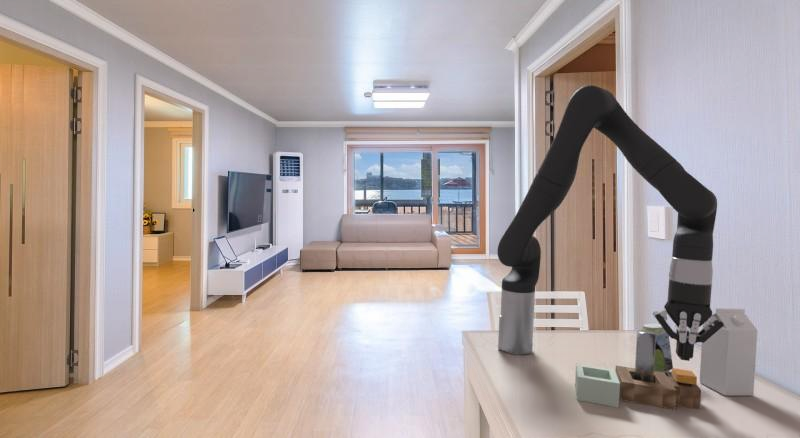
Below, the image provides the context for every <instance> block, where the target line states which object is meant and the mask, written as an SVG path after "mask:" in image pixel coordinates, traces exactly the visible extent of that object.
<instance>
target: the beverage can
mask: <svg viewBox="0 0 800 438" xmlns="http://www.w3.org/2000/svg"><path fill="white" fill-rule="evenodd" d="M640 330H645V331H650V332H654V333H655V334H656V343H655V361H654V371H656V372H662V373H665V374H666V373H668V372H670V371H672V368H674V366H673V358H672V350H671V341H670V340H671V339H670V336H669V335H668V334H667V333H666V331H665V330H664V329H663V327H662V326H661V325H660V323H659V322H646V323H644V324H642V327H641V329H640Z"/></svg>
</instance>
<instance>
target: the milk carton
mask: <svg viewBox="0 0 800 438" xmlns="http://www.w3.org/2000/svg"><path fill="white" fill-rule="evenodd" d="M745 313H746V309H745V308H722V307H721V308H720V307H719V308H715V313H712V315H713V316H714V317H715V318H717V319H718V320H720V321H722V322H723V323H724V326H723V327H722V328H720V329H719V330H718V331H717V332H716V333H715V334H713V335H712V336H711V337H710V338H709V339H708V340H706V341H705V342H704V343H701V348H700V349H701V352H700V366H699V367H700V368H699V383H700V384H702V385H704V386H706V387H708V388H710V389H712V390H714V391H715V392H716V393H717V392H718V393H719V394H721V395H723V396H730V397H731V396H754V391H755V390H754V389H755V379H756V378H755V373H756V362H757V361H756V359H757V344H758V329H757V327H756V326H755V325H754V324H753V323H752V320H750V318H749V317H748V316H747V315H746V314H745ZM707 321H708V320H707ZM707 321H706V322H705V323H704V324H703V325H702V329H703V328H704V327H705V326H706V325H708V324H707Z"/></svg>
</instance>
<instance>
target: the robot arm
mask: <svg viewBox="0 0 800 438" xmlns="http://www.w3.org/2000/svg"><path fill="white" fill-rule="evenodd" d="M568 100H569V101H568V103H567V105H566V108H565V111H564V113H563V116H562V118H561V122H560V124H559V126H558V130H557V132H556V134H555V136H554V139H553V141H552V143H551V145H550V147H549V148H548V150H547V153H546V154H545V156H544V158H543V160H542V162H541V164H540V166H539V168H538V170H537V172H536V174H535V176H534V178H533V180H532V182H531V184H530V186H529V189H528V191H527V193H526V195H525V197H524V198H523V201H522V202H521V205H520V206H519V209H518V211H517V212H516V214H515V216H514V217H513V219H512V221H511V223H509V224H510V225H508V227H507V228H506V230H505V231H504V233H503V235H502V236H501V239H500V240H499V242H498V245H497V253H496V254H497V258H498V260H499V262H500V263H501V264H502V265H504V266H505V267H511V270H510V272H509V273H508V274H507V275H506V276H505V277H503V279H502V280H501V293H500V294H501V297H500V315H499V319H498V338H497V339H498V340H497V350H499V351H503V352H506V353H509V354H513V355H528V354H531V353H532V352H533V346H534V343H533V342H534V341H533V340H534V320H535V300H536V299H535V298H536V286H537V284H538V281H539V277H540V269H541V267H540V266H541V258H542V257H541V256H542V255H541V254H542V251H541V250H542V249H541V245H540V243H539V240H538V239H537V237H536V236H535V235H534V234H535V232H536V230H537V229H538V228H539V226H540V225H541V224H543V222H544V221H546V220H547V219H548V217H550V216H551V215H552V213H554V212H555V211H556V210H557V209H558V208H559V207H560V205H562V203H563V201H564V200H565V199H566V197H567V195H568V193H569V191H570V189H571V187H572V186H573V184H574V181H575V178H576V174H577V170H578V166H579V160H580V155H581V152H582V150H583V146H584V145H585V142H586V141H587V139H588V137H589V135H590V134H591V132H592V130H593V129H595V130H597V131H598V132H600V133H601V134H603V135H604V136H606V137H607V138H608V139H609V140H610V141H611V142H612V143H613V144H614V145H615V146H616V147H617V148H618V149H619V151H620V152H621V154H622V155H623V156H624V157H625V159H626V160H627V162H628V164H629V165H630V166H631V167H632V169H634V170H635V171H636V172H637V173H638V175H640V176H641V177H642V178H643V179H644V180H645V181H646V182H647V183H649V184H650V185H651V186H652V187H653V188H655V190H656V191H658V192H659V194H660V195H661V196H662V197H663V198H664V200H666V202H667V203H668V204H669V205H670V206H671V207H672V209H673V210H674V211H675V212H677V220H676V221H677V223H676V232H675V234H674V236H673V241H672V242H673V243H672V253H671V254H672V256H671V262H670V265H669V272H668V288H667V289H668V290H667V291H668V292H667V300H666V301H667V302H665V305H664V306H663V308H662V309H661V310H659V311H653V312H652V315H653V316H654V318H655V319H656V321H657V323H660V325H661V326H662V327H663V329H664V330H665V331H666V333H667V334H668V335H669V338H671V339H673V340H676V343H675V345H676V346H675V354H676V355H677V356H678V358H679V359H680V360H681V361H690V359H693V358H694V349H695V344H696V343H701V344H702V343H704V342H705V341H706V340H708V339H709V338H710V337H711V336H712V335H713V334H715V333H716V332H717V331H718V330H719V329H720V328H722V327H723V326H724V323H723V322H722V321H720V320H718V319H717V318H715V317H714V316H713V310H712V308H711V298H712V288H713V287H712V286H713V275H714V274H713V273H714V271H713V270H714V268H713V256H714V255H713V254H714V253H713V252H714V235H713V234H714V231H715V222H716V218H717V217H716V216H717V210H718V200H717V196H716V195H715V193H713V191H711V190H710V189H709V188H707V187H706V186H705V185H704V184H702V182H700V181H699V180H698V179H697V178H695V177H694V176H693V175H692V174H690V173H689V172H688V171H686V169H685V168H684V166H683V165H682V164H681V163H680V162H679V161H678V160H677V159H676V158H674V156H673V155H671V153H669V152H668V151H667V150H666V149H665V148H663V147H662V146H661V145H660V144H659V143H658V142H657V141H655V139H653V138H652V137H651V136H649V135H648V134H647V133H646V132H645V131H644V130H642V128H640V126H638V124H636V122H634V120H633V119H632V118H631V117H630V116H629V115H628V113H627V112H626V111H625V109H624V108H623V107H622V106H621V104H620V103H619V101H618V100H617V99H616V97H615V96H614V95H613V93H612V92H610V91H609V90H607V89H605V88H603V87H600V86H597V85H591V84H589V85H584V86H582V87H580V88H578V89H577V90H576V91H575V92H574V93H573V94H572V96H571V97H570V98H569V99H568ZM667 315H668V316H669V319H671V320H672V322H673V323H674V324H675V326H674V327H675V331H674V330H673V329H672V327H671V326H670V325H669V324H668V322H667V320H668V316H667ZM707 320H708V321H707ZM706 321H707V324H708V325H706V326H705V327H704V328H703V327H702V329H701V330H699V329H700V327H701V326H703V324H704V323H705V322H706Z"/></svg>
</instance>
